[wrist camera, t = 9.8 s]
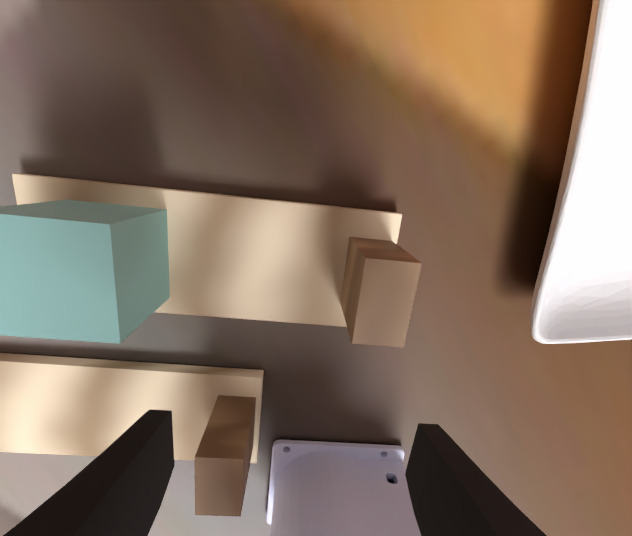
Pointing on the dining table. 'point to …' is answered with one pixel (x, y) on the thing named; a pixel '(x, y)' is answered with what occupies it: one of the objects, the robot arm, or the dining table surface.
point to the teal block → (81, 269)
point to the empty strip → (137, 414)
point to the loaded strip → (268, 257)
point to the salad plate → (593, 198)
